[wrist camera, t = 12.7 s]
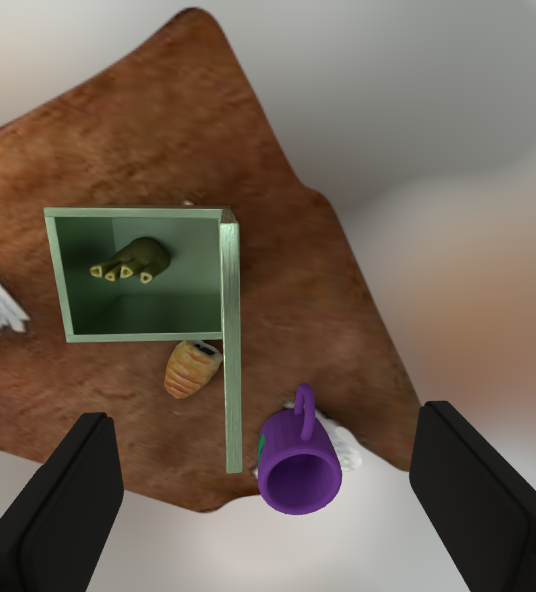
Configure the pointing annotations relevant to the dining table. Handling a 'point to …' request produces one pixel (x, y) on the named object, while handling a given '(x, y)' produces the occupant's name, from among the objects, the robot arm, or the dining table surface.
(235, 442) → the bin lid
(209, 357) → the pastry
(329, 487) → the mug
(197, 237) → the trash bin
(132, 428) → the dining table surface
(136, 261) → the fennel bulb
